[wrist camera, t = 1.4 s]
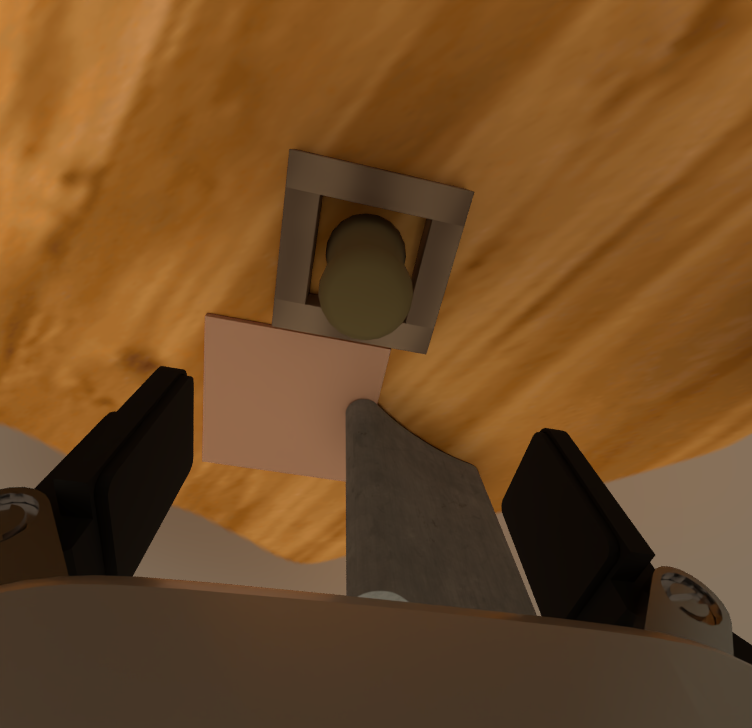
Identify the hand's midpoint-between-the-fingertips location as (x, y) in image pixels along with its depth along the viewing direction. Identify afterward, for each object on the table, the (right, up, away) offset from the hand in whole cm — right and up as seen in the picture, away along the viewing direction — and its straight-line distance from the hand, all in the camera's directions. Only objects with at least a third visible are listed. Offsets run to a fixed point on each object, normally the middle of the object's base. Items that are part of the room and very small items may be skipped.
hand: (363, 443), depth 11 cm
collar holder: (0, +10, +20) cm, 22 cm away
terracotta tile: (-7, -2, +26) cm, 27 cm away
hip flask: (+4, -6, +28) cm, 29 cm away
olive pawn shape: (0, +10, +20) cm, 22 cm away
